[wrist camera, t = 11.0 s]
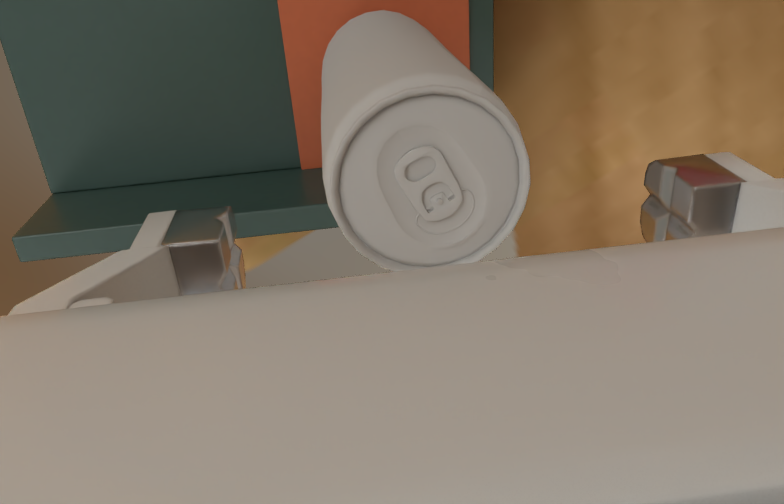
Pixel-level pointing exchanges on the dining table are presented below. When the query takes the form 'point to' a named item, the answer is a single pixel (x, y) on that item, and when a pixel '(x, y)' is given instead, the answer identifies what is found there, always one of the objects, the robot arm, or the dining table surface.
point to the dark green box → (189, 108)
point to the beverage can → (416, 148)
